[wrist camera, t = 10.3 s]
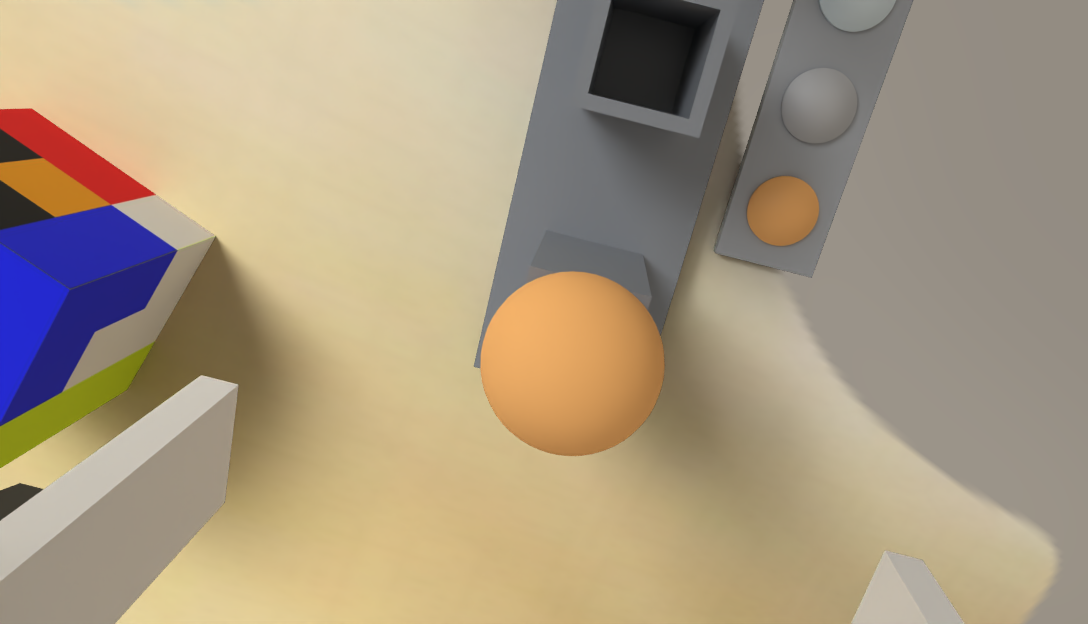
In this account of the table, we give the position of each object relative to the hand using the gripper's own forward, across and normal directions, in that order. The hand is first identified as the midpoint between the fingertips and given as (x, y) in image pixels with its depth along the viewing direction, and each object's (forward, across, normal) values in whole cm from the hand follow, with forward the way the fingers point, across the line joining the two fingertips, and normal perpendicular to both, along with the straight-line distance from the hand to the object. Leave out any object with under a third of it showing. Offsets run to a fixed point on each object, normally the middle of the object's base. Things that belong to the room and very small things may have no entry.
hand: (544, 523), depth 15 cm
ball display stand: (+20, 0, +10) cm, 23 cm away
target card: (+20, +8, +10) cm, 24 cm away
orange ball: (+10, 0, 0) cm, 10 cm away
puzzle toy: (+21, -24, -6) cm, 32 cm away
